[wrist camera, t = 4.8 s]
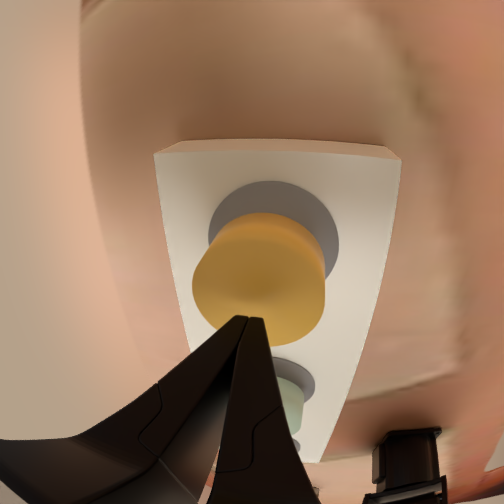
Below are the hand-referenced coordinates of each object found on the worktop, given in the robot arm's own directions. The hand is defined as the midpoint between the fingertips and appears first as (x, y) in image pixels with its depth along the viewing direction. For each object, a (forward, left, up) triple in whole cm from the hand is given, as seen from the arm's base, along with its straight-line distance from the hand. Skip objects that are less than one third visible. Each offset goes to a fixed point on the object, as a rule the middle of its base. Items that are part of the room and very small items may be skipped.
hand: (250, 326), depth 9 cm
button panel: (0, +10, -8) cm, 13 cm away
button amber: (0, 0, -3) cm, 3 cm away
